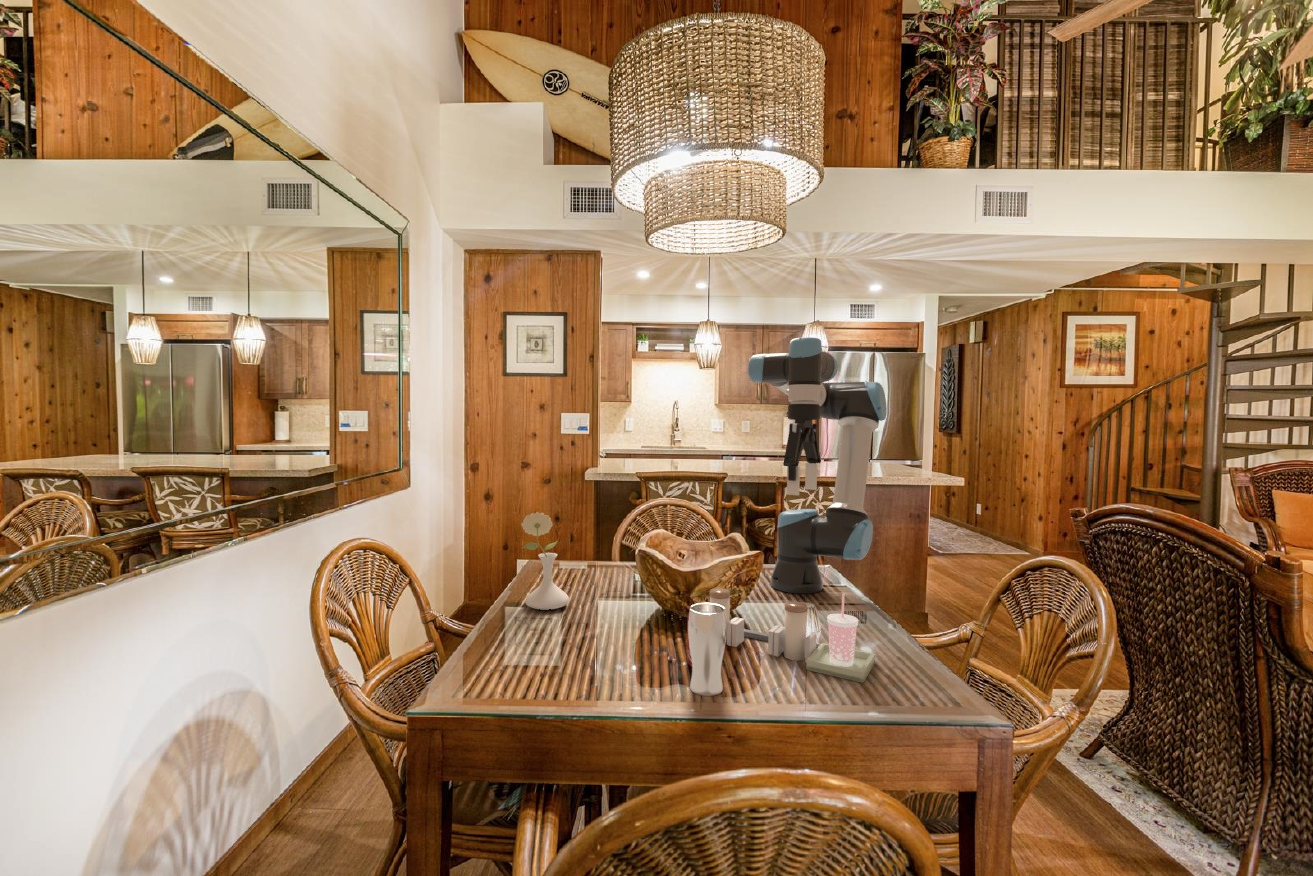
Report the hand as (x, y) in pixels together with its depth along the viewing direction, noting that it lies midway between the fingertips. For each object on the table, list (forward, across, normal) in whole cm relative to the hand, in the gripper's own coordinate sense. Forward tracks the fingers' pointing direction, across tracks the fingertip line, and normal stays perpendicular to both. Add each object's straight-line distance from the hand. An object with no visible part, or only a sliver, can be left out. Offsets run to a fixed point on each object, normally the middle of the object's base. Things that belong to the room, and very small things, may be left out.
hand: (802, 492), depth 143 cm
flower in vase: (+33, +22, -62) cm, 73 cm away
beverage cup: (+32, +18, +14) cm, 39 cm away
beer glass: (+33, +42, -4) cm, 54 cm away
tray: (+33, +18, +14) cm, 40 cm away
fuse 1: (+33, +18, -13) cm, 39 cm away
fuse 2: (+33, +18, +5) cm, 38 cm away
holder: (+33, +16, -4) cm, 37 cm away
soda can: (+33, +33, -9) cm, 47 cm away
